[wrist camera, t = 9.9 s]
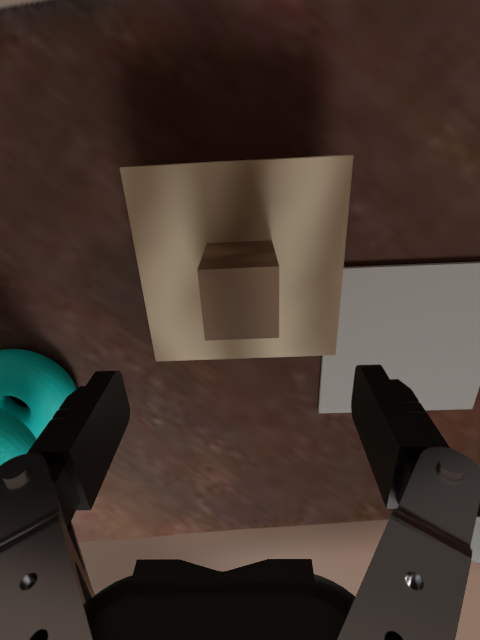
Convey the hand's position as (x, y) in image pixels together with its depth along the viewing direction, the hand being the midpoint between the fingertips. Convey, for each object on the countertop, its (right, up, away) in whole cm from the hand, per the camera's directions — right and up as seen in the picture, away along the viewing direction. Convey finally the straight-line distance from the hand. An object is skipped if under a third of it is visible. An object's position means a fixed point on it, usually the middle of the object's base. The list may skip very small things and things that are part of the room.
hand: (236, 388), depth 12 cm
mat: (+15, 0, +20) cm, 25 cm away
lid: (0, +6, +11) cm, 13 cm away
